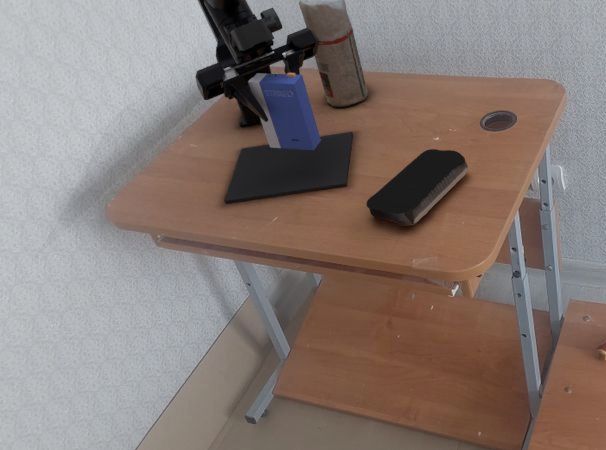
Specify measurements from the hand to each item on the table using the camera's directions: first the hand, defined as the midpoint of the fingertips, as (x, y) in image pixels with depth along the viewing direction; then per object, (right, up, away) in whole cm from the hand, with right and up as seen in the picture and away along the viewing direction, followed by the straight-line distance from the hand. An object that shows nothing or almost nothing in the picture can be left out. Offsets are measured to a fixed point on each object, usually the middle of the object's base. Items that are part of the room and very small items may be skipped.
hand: (285, 113), depth 105 cm
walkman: (0, -4, +6) cm, 7 cm away
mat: (-2, -7, +13) cm, 15 cm away
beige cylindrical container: (+5, +7, +28) cm, 30 cm away
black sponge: (+20, -13, +1) cm, 24 cm away
